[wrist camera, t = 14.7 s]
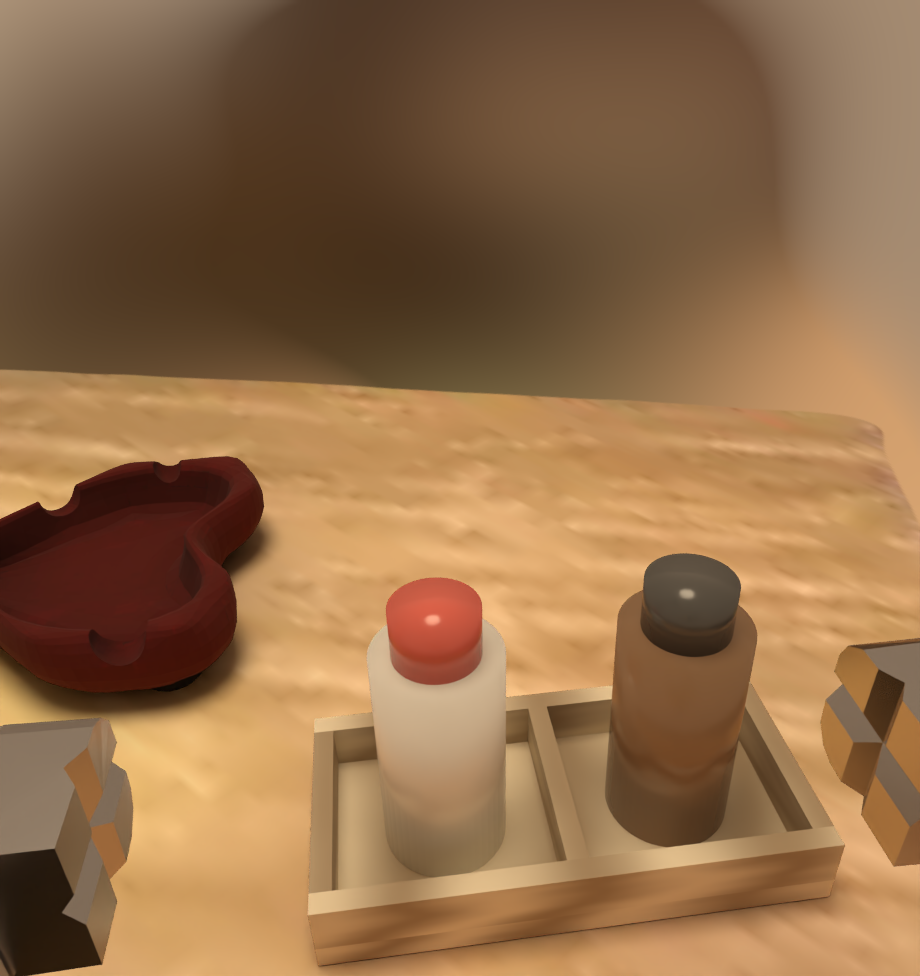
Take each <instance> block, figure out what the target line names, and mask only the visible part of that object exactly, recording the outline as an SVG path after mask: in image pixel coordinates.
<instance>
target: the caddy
mask: <svg viewBox="0 0 920 976" xmlns="http://www.w3.org/2000/svg"><path fill="white" fill-rule="evenodd" d="M612 687H613V685H612V686H603V687H594V688H585V689H576V690H567V691H558V692H549V693H540V694H531V695H522V696H513V697H506V830H505V835H504V839H503V842H502V844H501V846H500V848H499V850H498V851H497V852H496V854H495V855H494V856H493V857H492V858H491V859H490V860H489V861H488V862H487V863H486V864H485V865H483V866H482V867H480V868H479V869H477V870H475V871H473V872H471V873H465V874H458V875H450V876H442V877H430V876H425V875H422V874H419V873H417V872H415V871H412V870H411V869H409V868H408V867H406V866H405V865H403V864H402V863H401V862H400V861H399V860H398V859H397V858H396V857H395V855H394V854H393V852H392V851H391V849H390V847H389V845H388V842H387V838H386V831H385V822H384V813H383V804H382V795H381V785H380V776H379V767H378V758H377V749H376V740H375V730H374V721H373V712H371V713H362V714H353V715H344V716H335V717H326V718H317V719H315V724H314V752H313V781H312V809H311V837H310V865H309V893H308V919H309V924H310V929H311V933H312V938H313V943H314V948H315V953H316V957H317V962H318V966H322V965H329V964H337V963H344V962H351V961H359V960H366V959H373V958H381V957H388V956H395V955H403V954H410V953H417V952H425V951H432V950H439V949H447V948H454V947H461V946H469V945H476V944H484V943H491V942H498V941H506V940H513V939H520V938H528V937H535V936H542V935H550V934H557V933H564V932H572V931H579V930H586V929H594V928H601V927H608V926H616V925H623V924H631V923H638V922H645V921H653V920H660V919H667V918H675V917H682V916H689V915H697V914H704V913H711V912H719V911H726V910H733V909H741V908H748V907H755V906H763V905H770V904H778V903H785V902H792V901H800V900H807V899H814V898H822V897H829V896H830V892H831V889H832V886H833V883H834V879H835V876H836V873H837V870H838V866H839V863H840V860H841V856H842V853H843V850H844V847H845V844H844V842H843V841H842V839H841V837H840V835H839V834H838V832H837V830H836V829H835V827H834V825H833V823H832V822H831V820H830V818H829V816H828V815H827V813H826V811H825V810H824V808H823V806H822V804H821V803H820V801H819V799H818V798H817V796H816V794H815V792H814V791H813V789H812V787H811V785H810V784H809V782H808V780H807V779H806V777H805V775H804V773H803V772H802V770H801V768H800V767H799V765H798V763H797V761H796V760H795V758H794V756H793V755H792V753H791V751H790V749H789V748H788V746H787V744H786V742H785V741H784V739H783V737H782V736H781V734H780V732H779V730H778V729H777V727H776V725H775V724H774V722H773V720H772V718H771V717H770V715H769V713H768V711H767V710H766V708H765V706H764V705H763V703H762V701H761V699H760V698H759V696H758V694H757V693H756V691H755V689H754V687H753V686H752V684H751V682H749V687H748V692H747V698H746V703H745V709H744V714H743V719H742V725H741V730H740V736H739V741H738V746H737V752H736V757H735V762H734V768H733V773H732V779H731V784H730V789H729V795H728V800H727V805H726V811H725V816H724V819H723V822H722V824H721V826H720V827H719V829H718V830H717V831H716V832H715V833H714V834H713V835H712V836H711V837H710V838H708V839H707V840H705V841H703V842H701V843H698V844H690V845H683V846H675V847H661V846H657V845H653V844H650V843H647V842H645V841H643V840H641V839H639V838H637V837H635V836H633V835H632V834H630V833H629V832H628V831H626V830H625V829H624V828H623V827H622V826H621V825H620V824H619V823H618V822H617V821H616V819H615V818H614V817H613V815H612V814H611V812H610V810H609V808H608V805H607V802H606V798H605V781H606V768H607V754H608V741H609V728H610V714H611V701H612Z"/></svg>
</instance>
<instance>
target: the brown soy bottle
mask: <svg viewBox="0 0 920 976" xmlns="http://www.w3.org/2000/svg"><path fill="white" fill-rule="evenodd" d="M740 591H741V584H740V581H739V578H738V577H737V575H736V574H735V573H734V572H733V571H732V570H731V569H730V568H729V567H728V566H726V565H725V564H723V563H721V562H719V561H717V560H715V559H712V558H709V557H706V556H702V555H696V554H672V555H668V556H664V557H661V558H659V559H657V560H655V561H654V562H652V563H651V564H650V565H649V566H648V567H647V569H646V571H645V575H644V585H643V590H642V591H640V592H638V593H636V594H634V595H633V596H631V597H630V598H629V599H628V600H627V601H626V602H625V603H624V604H623V605H622V607H621V609H620V611H619V614H618V620H617V634H616V647H615V661H614V674H613V687H612V701H611V714H610V728H609V741H608V754H607V768H606V781H605V798H606V802H607V805H608V808H609V810H610V812H611V814H612V815H613V817H614V818H615V819H616V821H617V822H618V823H619V824H620V825H621V826H622V827H623V828H624V829H625V830H626V831H628V832H629V833H630V834H632V835H633V836H635V837H637V838H639V839H641V840H643V841H645V842H647V843H650V844H653V845H657V846H661V847H675V846H683V845H690V844H698V843H701V842H703V841H705V840H707V839H708V838H710V837H711V836H712V835H713V834H714V833H715V832H716V831H717V830H718V829H719V827H720V826H721V824H722V822H723V819H724V816H725V811H726V805H727V800H728V795H729V789H730V784H731V779H732V773H733V768H734V762H735V757H736V752H737V746H738V741H739V736H740V730H741V725H742V719H743V714H744V709H745V703H746V698H747V692H748V687H749V682H750V676H751V671H752V666H753V660H754V655H755V649H756V644H757V630H756V627H755V624H754V622H753V621H752V619H751V617H750V616H749V615H748V613H747V612H746V611H745V610H744V609H743V608H742V607H740V606H739V605H738V603H739V597H740Z"/></svg>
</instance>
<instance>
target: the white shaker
mask: <svg viewBox="0 0 920 976" xmlns="http://www.w3.org/2000/svg"><path fill="white" fill-rule="evenodd" d="M386 617H387V624H386V625H385V626H384V627H383V628H381V629H380V630H379V631H378V633H377V634H376V635H375V636H374V638H373V639H372V641H371V643H370V645H369V648H368V651H367V666H368V675H369V684H370V694H371V703H372V712H373V721H374V730H375V740H376V749H377V758H378V767H379V776H380V785H381V795H382V804H383V813H384V822H385V831H386V838H387V842H388V845H389V847H390V849H391V851H392V852H393V854H394V855H395V857H396V858H397V859H398V860H399V861H400V862H401V863H402V864H403V865H405V866H406V867H408V868H409V869H411V870H412V871H415V872H417V873H419V874H422V875H425V876H430V877H442V876H450V875H458V874H465V873H471V872H473V871H475V870H477V869H479V868H480V867H482V866H483V865H485V864H486V863H487V862H488V861H489V860H490V859H491V858H492V857H493V856H494V855H495V854H496V852H497V851H498V850H499V848H500V846H501V844H502V842H503V839H504V835H505V830H506V648H505V644H504V641H503V638H502V637H501V635H500V633H499V632H498V631H497V630H496V628H495V627H493V626H492V625H491V624H490V623H489V622H487V621H486V620H484V619H482V602H481V599H480V597H479V595H478V594H477V592H476V591H475V590H474V589H472V588H471V587H470V586H468V585H466V584H464V583H462V582H460V581H457V580H453V579H448V578H426V579H420V580H416V581H413V582H410V583H408V584H406V585H404V586H402V587H401V588H399V589H398V590H396V591H395V592H394V593H393V594H392V595H391V597H390V598H389V600H388V602H387V605H386Z"/></svg>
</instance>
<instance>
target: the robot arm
mask: <svg viewBox="0 0 920 976" xmlns="http://www.w3.org/2000/svg"><path fill="white" fill-rule="evenodd" d="M834 672H835V673H836V675H837V676H838V678H839V679H840V681H841V682H842V685H841V686H840V687H839V688H838V689H837V690H836V691H835V692H834V693H833V694H832V695H830V696H829V697H828V698H827V699H826V701H825V705H824V709H823V713H822V717H821V730H822V739H823V746H824V748H825V751H826V754H827V756H828V759H829V762H830V764H831V766H832V767H833V769H834V771H835V772H836V774H837V776H838V777H839V779H840V781H841V782H843V783H844V784H846V785H847V786H849V787H850V788H852V789H853V790H855V791H857V792H858V793H860V794H861V795H863V796H864V799H863V806H862V813H861V815H862V817H863V818H864V820H865V821H866V823H867V825H868V826H869V828H870V829H871V831H872V833H873V834H874V836H875V837H876V839H877V841H878V842H879V844H880V845H881V847H882V849H883V850H884V852H885V853H886V855H887V857H888V858H889V860H890V861H891V863H892V865H893V866H894V867H895V866H905V865H916V864H920V638H916V639H906V640H897V641H887V642H878V643H869V644H859V645H850V646H847V647H846V649H845V650H844V651H843V652H842V653H841V654H840V655H839V658H838V661H837V664H836V667H835V671H834ZM116 743H117V742H116V739H115V736H114V734H113V731H112V728H111V725H110V723H109V720H106V719H102V718H94V719H80V720H66V721H52V722H38V723H24V724H10V725H3V726H0V976H29V975H36V974H42V973H49V972H56V971H62V970H69V969H75V968H82V967H89V966H95V965H102V963H103V959H104V955H105V951H106V946H107V942H108V938H109V934H110V929H111V925H112V921H113V917H114V913H115V908H116V904H117V899H116V897H115V894H114V891H113V888H112V885H111V882H110V878H111V877H112V876H113V875H114V874H115V873H116V872H117V871H118V870H119V869H120V868H121V867H122V866H123V865H124V864H125V863H126V861H127V856H128V851H129V847H130V842H131V837H132V821H133V802H132V794H131V787H130V784H129V780H128V777H127V773H126V771H125V770H123V769H122V768H120V767H119V766H117V765H116V764H114V763H113V762H112V758H113V754H114V751H115V747H116Z"/></svg>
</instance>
